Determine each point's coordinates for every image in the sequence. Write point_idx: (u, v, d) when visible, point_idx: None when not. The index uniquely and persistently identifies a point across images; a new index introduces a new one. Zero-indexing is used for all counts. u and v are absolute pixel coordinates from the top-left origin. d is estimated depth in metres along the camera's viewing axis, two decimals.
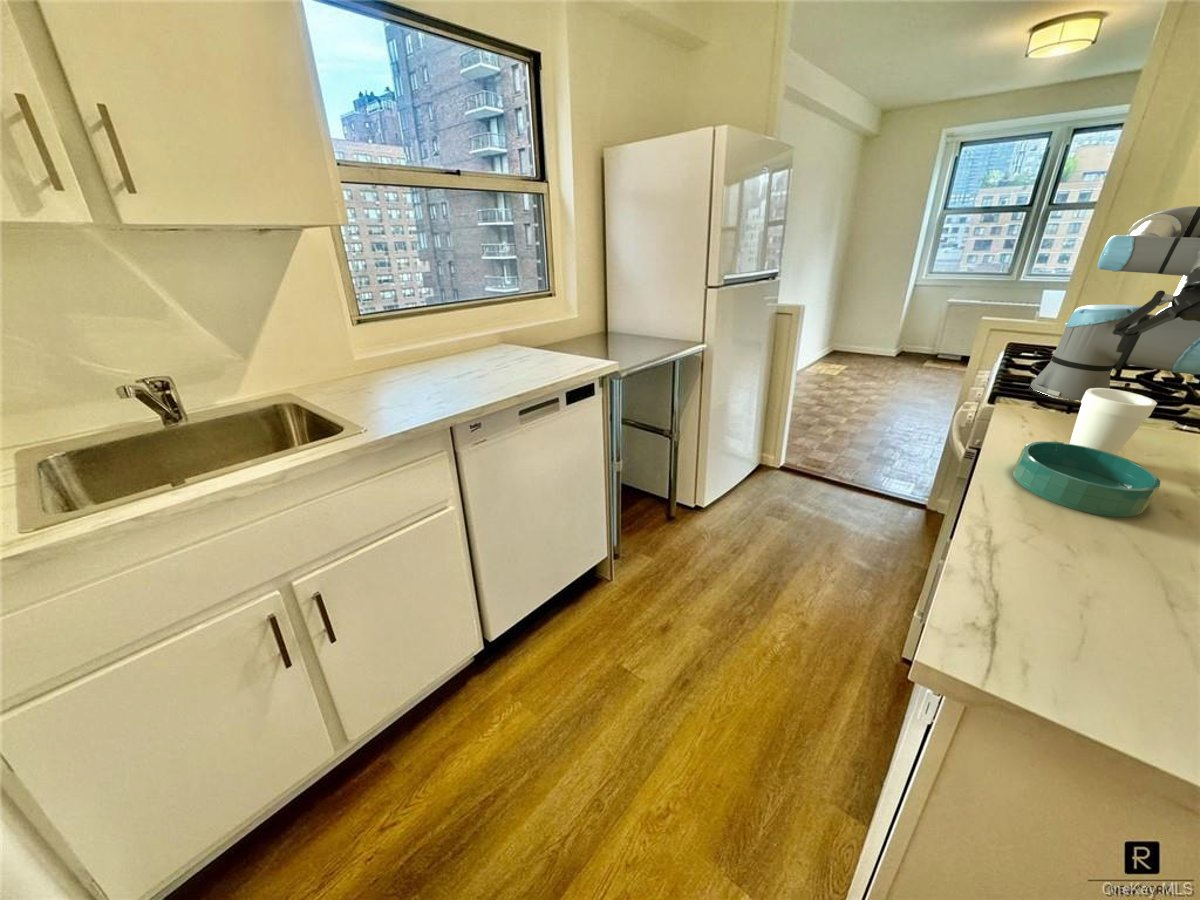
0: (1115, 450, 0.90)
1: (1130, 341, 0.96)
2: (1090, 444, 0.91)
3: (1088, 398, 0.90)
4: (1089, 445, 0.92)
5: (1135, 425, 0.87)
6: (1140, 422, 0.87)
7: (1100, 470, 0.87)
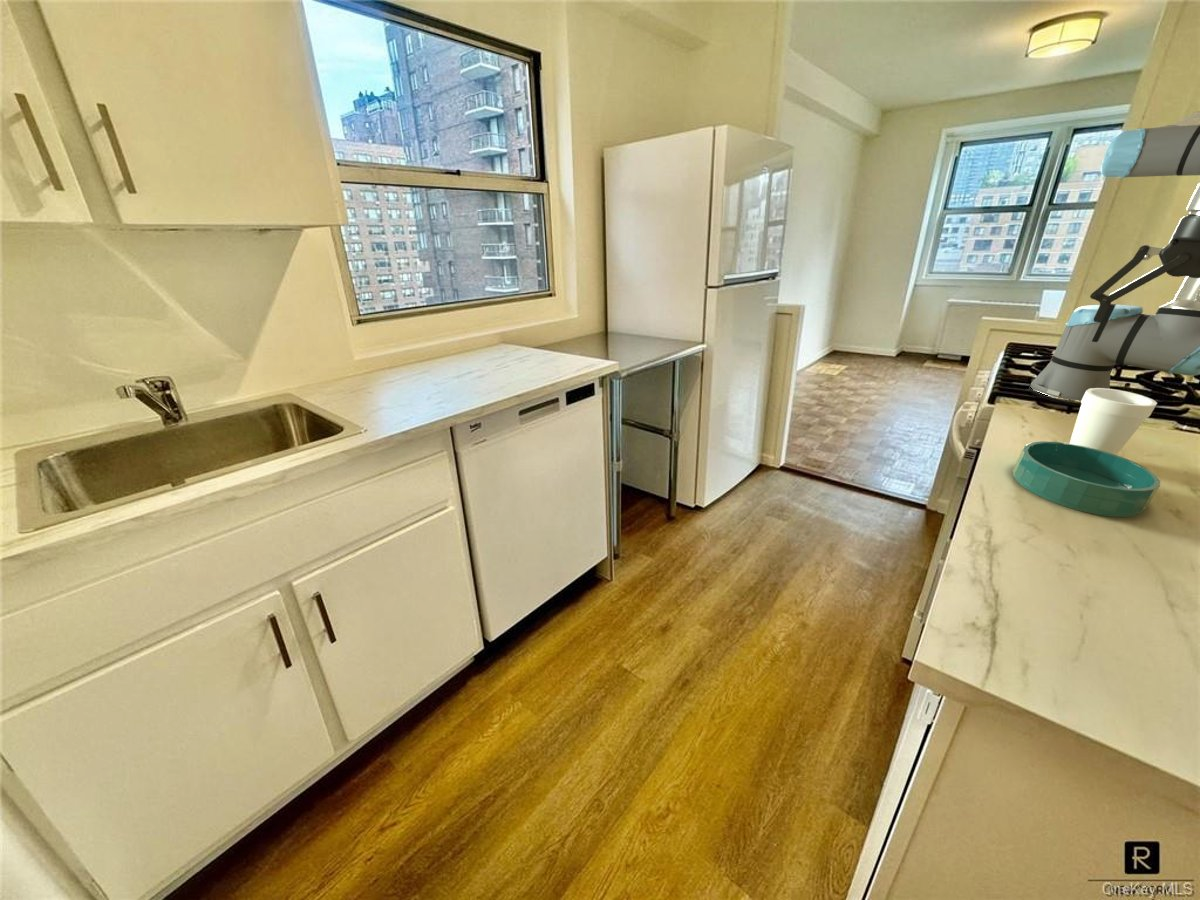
0: (1115, 450, 0.90)
1: (1106, 313, 0.86)
2: (1090, 444, 0.91)
3: (1088, 398, 0.90)
4: (1089, 445, 0.92)
5: (1135, 425, 0.87)
6: (1140, 422, 0.87)
7: (1100, 470, 0.87)
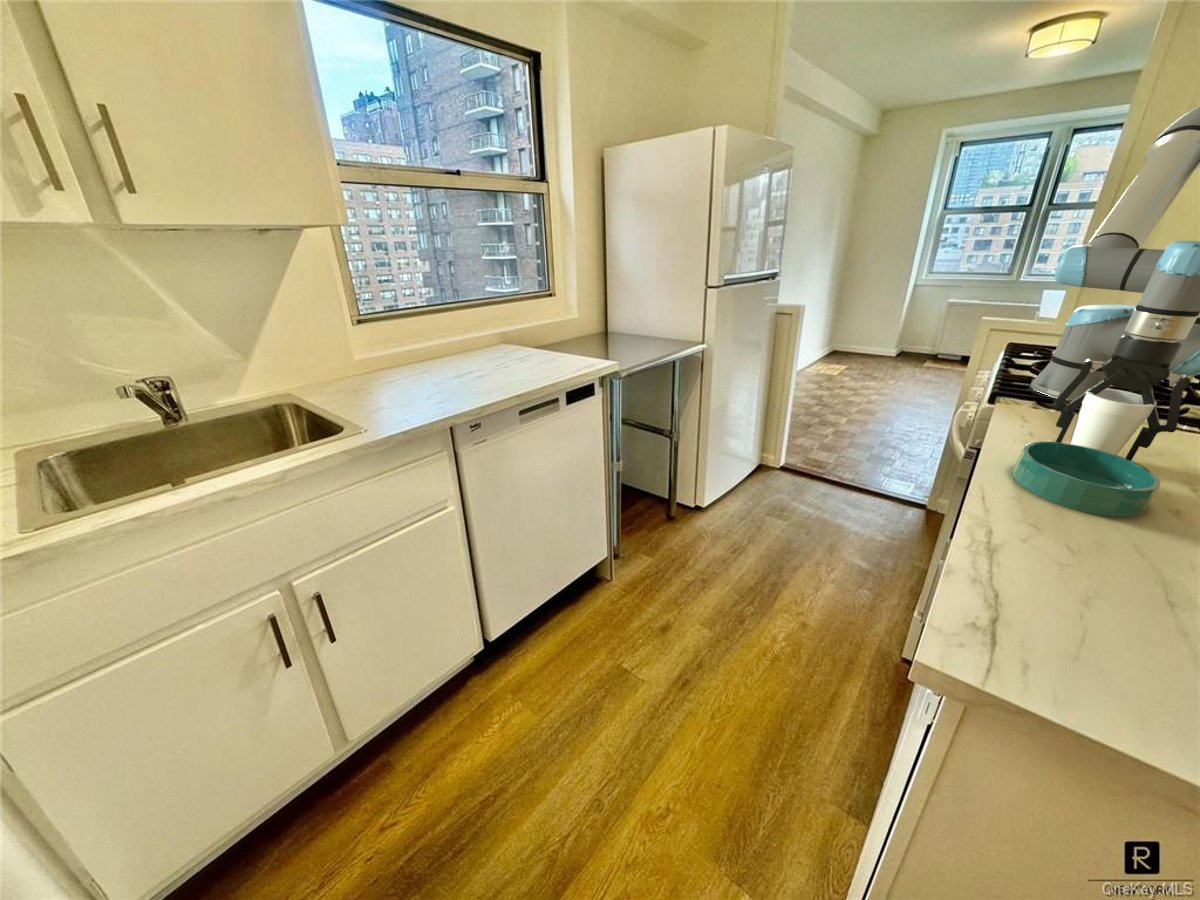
0: (1115, 450, 0.90)
1: (1067, 421, 0.95)
2: (1090, 444, 0.91)
3: (1088, 398, 0.90)
4: (1089, 445, 0.92)
5: (1135, 425, 0.87)
6: (1140, 422, 0.87)
7: (1100, 470, 0.87)
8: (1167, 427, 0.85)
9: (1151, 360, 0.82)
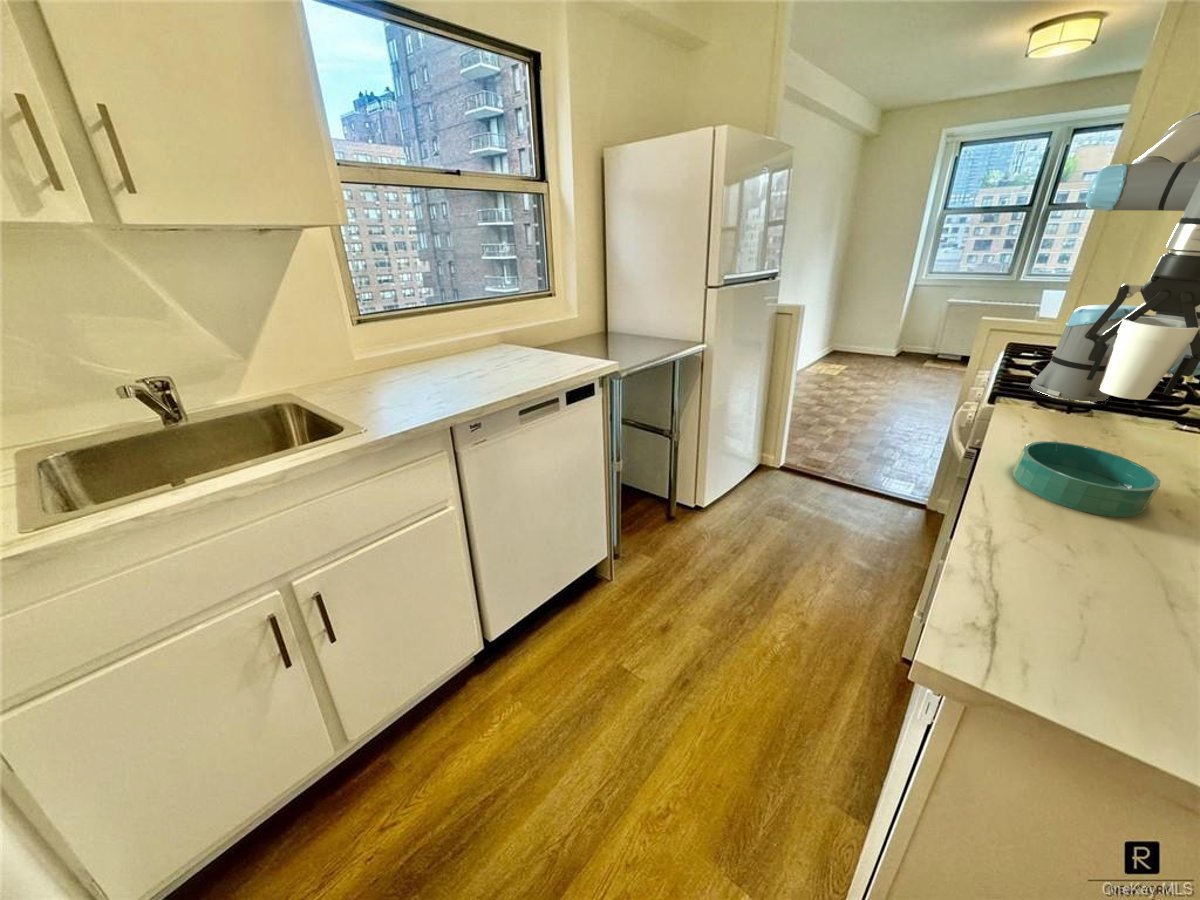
0: (1154, 380, 0.84)
1: (1100, 353, 0.88)
2: (1126, 375, 0.85)
3: (1125, 325, 0.84)
4: (1125, 377, 0.85)
5: (1177, 351, 0.81)
6: (1182, 348, 0.81)
7: (1100, 470, 0.87)
8: None
9: (1197, 276, 0.76)
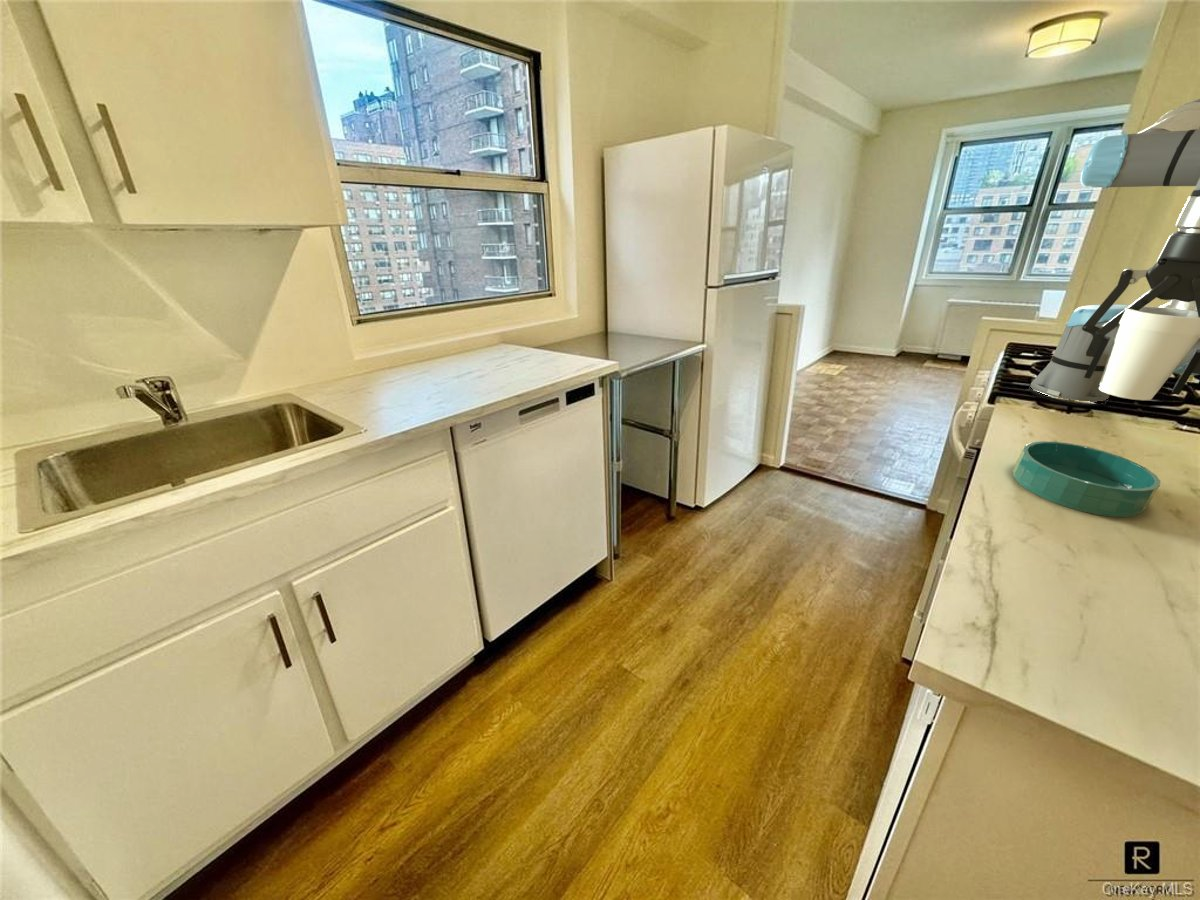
0: (1161, 378, 0.73)
1: (1100, 348, 0.78)
2: (1129, 372, 0.75)
3: (1128, 315, 0.74)
4: (1128, 374, 0.75)
5: (1188, 345, 0.70)
6: (1194, 341, 0.70)
7: (1100, 470, 0.87)
8: None
9: None
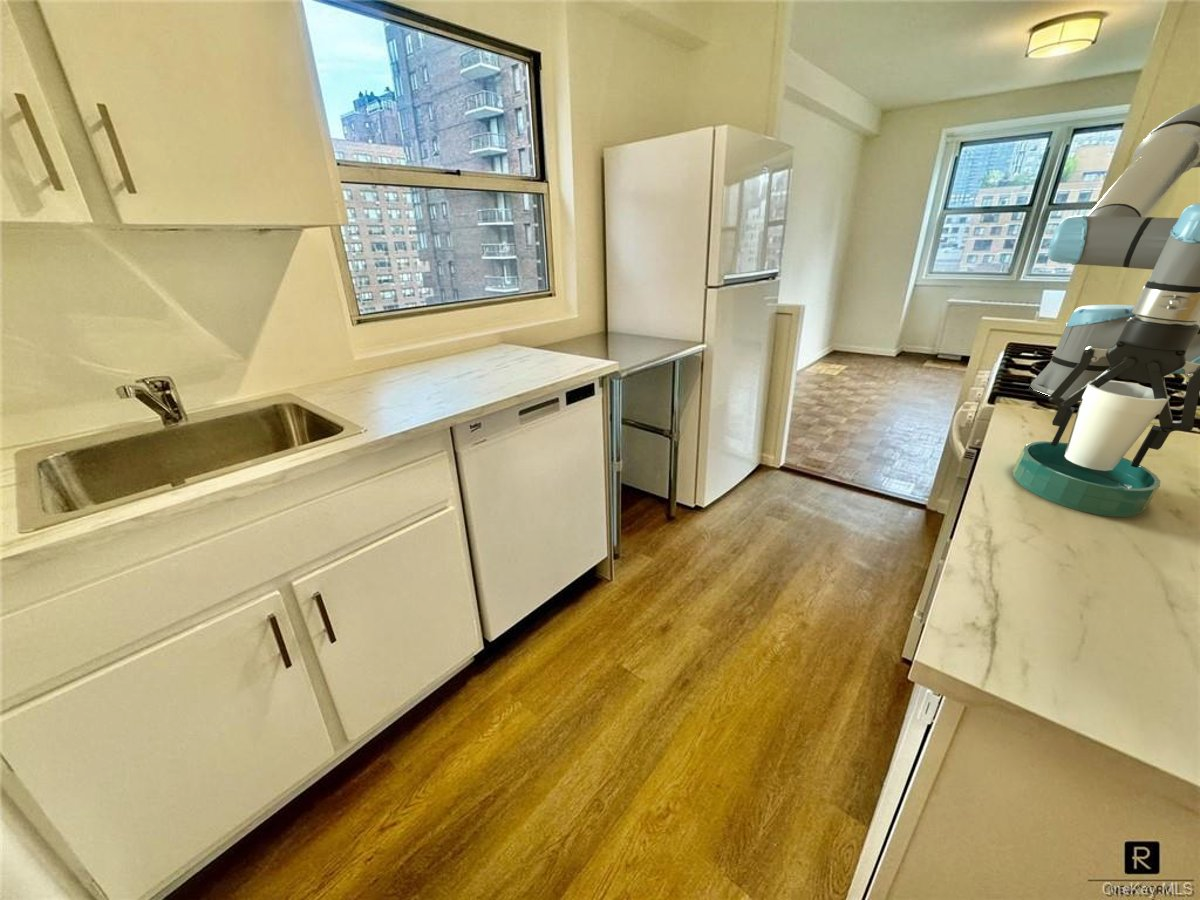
0: (1120, 452, 0.77)
1: (1065, 419, 0.82)
2: (1092, 445, 0.79)
3: (1089, 392, 0.78)
4: (1090, 446, 0.79)
5: (1144, 423, 0.74)
6: (1150, 419, 0.74)
7: (1100, 470, 0.87)
8: (1182, 425, 0.72)
9: (1164, 346, 0.70)
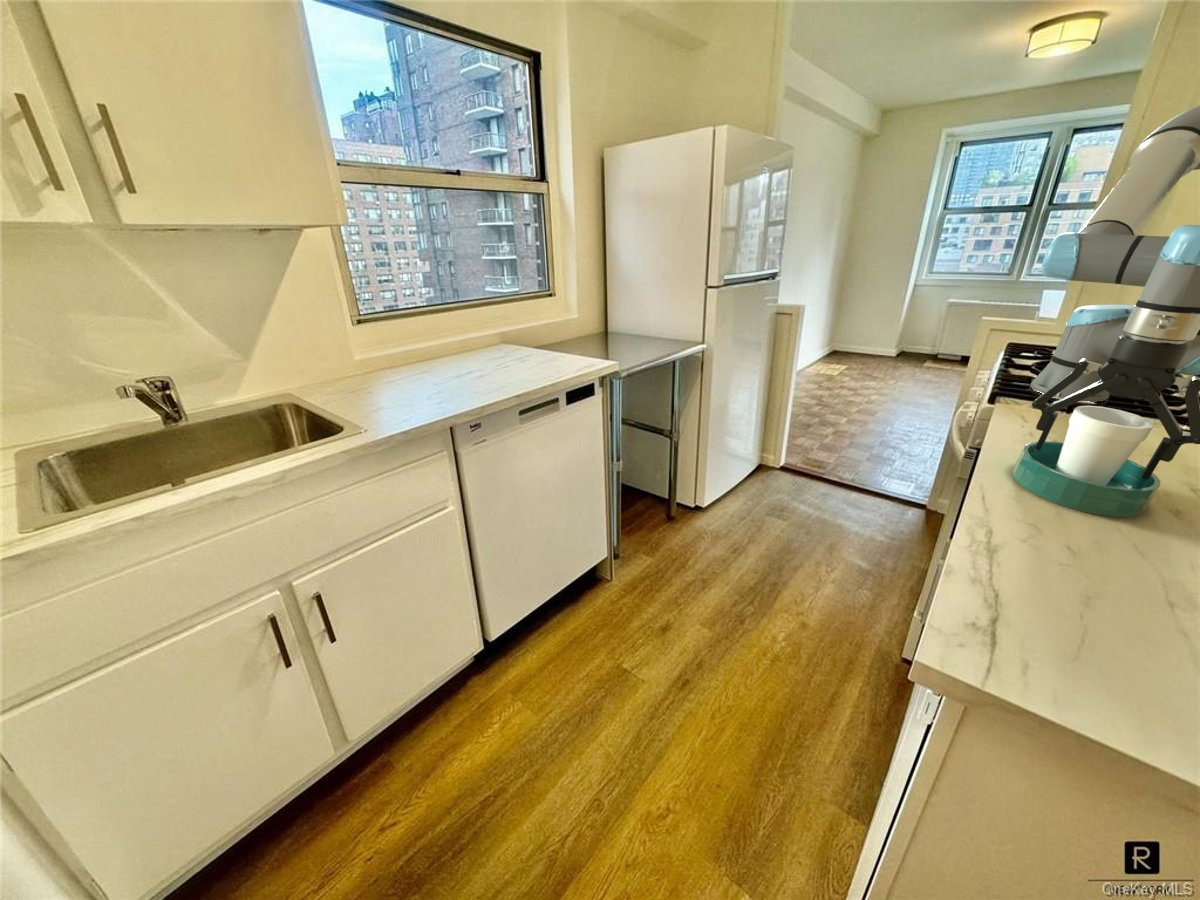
0: (1107, 476, 0.80)
1: (1048, 424, 0.84)
2: (1079, 470, 0.81)
3: (1076, 418, 0.80)
4: (1077, 471, 0.81)
5: (1129, 449, 0.77)
6: (1135, 446, 0.76)
7: None
8: (1193, 438, 0.72)
9: (1154, 364, 0.71)
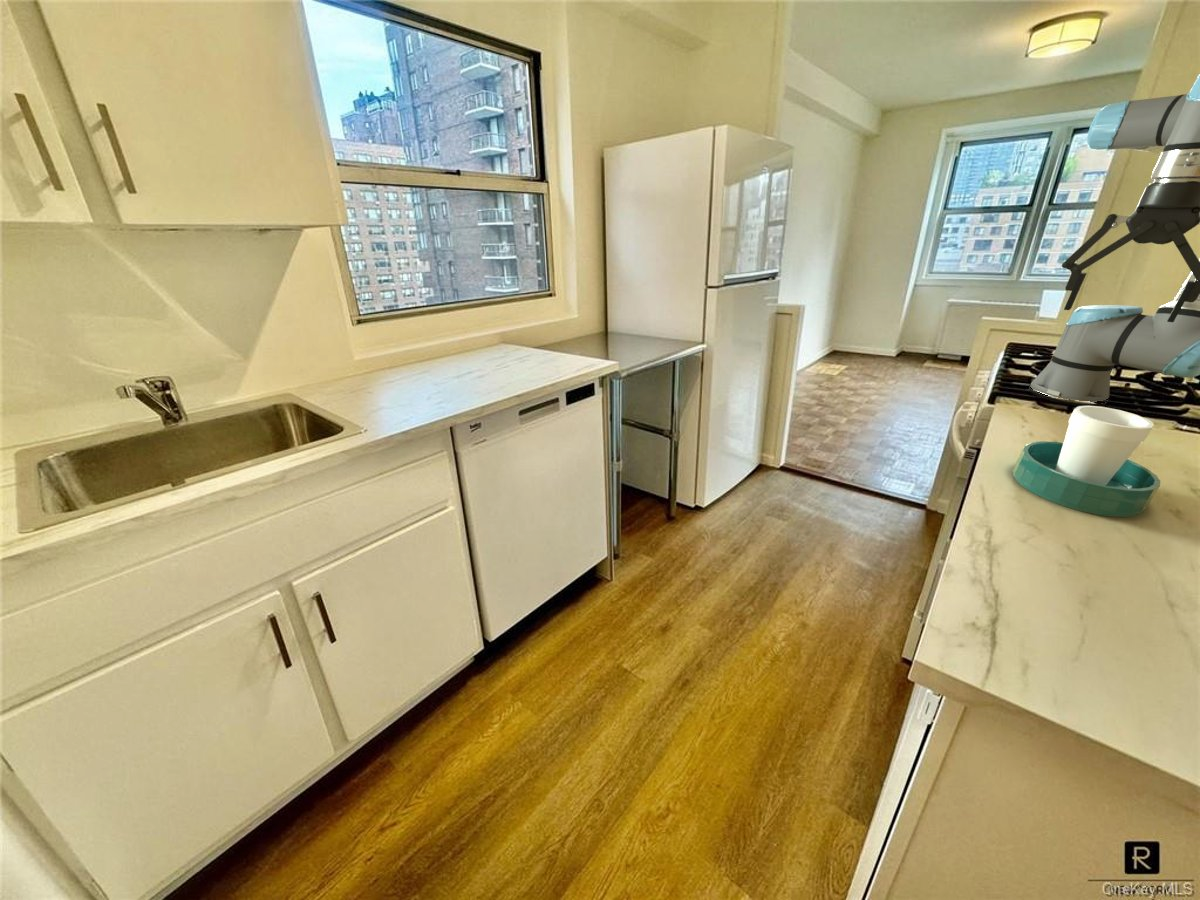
0: (1107, 476, 0.80)
1: (1077, 282, 0.89)
2: (1079, 470, 0.81)
3: (1076, 418, 0.80)
4: (1077, 471, 0.81)
5: (1129, 449, 0.77)
6: (1135, 446, 0.76)
7: None
8: None
9: (1181, 202, 0.76)
